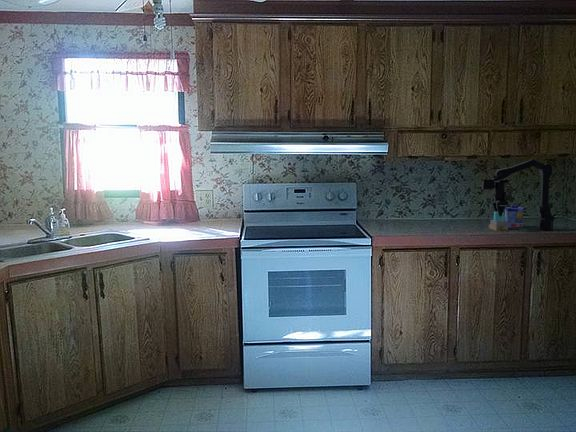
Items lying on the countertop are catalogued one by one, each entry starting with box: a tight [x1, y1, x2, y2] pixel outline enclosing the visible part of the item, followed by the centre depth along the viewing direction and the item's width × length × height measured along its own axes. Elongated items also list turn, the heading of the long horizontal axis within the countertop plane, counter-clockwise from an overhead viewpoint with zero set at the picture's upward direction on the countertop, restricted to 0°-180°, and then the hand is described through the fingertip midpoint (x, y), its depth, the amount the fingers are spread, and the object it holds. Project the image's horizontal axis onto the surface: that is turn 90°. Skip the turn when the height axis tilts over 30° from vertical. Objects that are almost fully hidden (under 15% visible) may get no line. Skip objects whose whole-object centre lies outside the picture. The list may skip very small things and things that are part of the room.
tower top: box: [489, 219, 508, 226], centre depth 304 cm, size 7×7×3 cm
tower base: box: [488, 223, 509, 232], centre depth 304 cm, size 8×8×3 cm
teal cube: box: [493, 211, 505, 221], centre depth 303 cm, size 5×5×5 cm
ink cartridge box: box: [504, 203, 525, 228], centre depth 311 cm, size 10×6×14 cm, turn 86°
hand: (498, 215), depth 303 cm, fingers open, 9 cm apart
